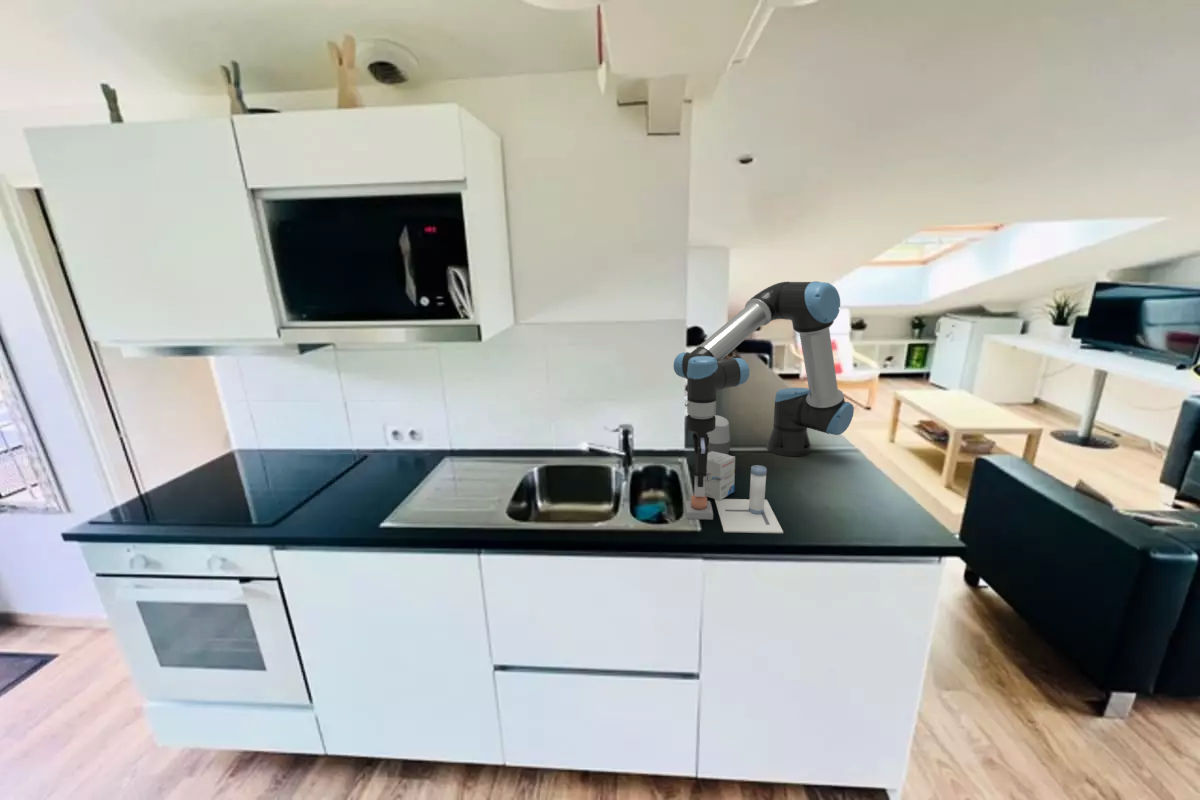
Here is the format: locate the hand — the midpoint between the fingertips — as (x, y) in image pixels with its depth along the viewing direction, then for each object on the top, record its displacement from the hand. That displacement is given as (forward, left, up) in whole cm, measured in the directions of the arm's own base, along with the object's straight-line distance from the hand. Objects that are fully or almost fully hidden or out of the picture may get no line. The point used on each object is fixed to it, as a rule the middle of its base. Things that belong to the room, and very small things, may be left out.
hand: (699, 495), depth 135 cm
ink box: (-12, +6, -5) cm, 15 cm away
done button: (0, 0, -5) cm, 5 cm away
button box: (0, 0, -5) cm, 5 cm away
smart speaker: (-45, +11, -6) cm, 46 cm away
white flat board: (+1, +13, -5) cm, 14 cm away
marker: (-1, +16, -5) cm, 17 cm away
